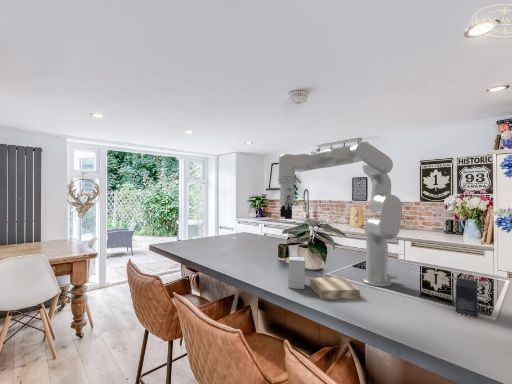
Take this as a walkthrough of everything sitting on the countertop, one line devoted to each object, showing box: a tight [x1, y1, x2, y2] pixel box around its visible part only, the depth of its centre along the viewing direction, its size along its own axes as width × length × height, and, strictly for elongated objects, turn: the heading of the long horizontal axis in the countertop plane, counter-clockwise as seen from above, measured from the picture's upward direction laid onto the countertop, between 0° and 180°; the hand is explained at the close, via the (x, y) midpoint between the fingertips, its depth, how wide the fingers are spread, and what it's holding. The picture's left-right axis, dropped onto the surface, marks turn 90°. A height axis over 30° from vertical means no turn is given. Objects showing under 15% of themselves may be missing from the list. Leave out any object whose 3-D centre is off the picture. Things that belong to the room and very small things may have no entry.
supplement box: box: [287, 256, 306, 290], centre depth 121 cm, size 7×7×13 cm
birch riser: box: [308, 276, 361, 300], centre depth 115 cm, size 16×16×4 cm
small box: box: [454, 277, 479, 318], centre depth 97 cm, size 11×6×10 cm, turn 141°
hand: (285, 217), depth 123 cm, fingers open, 9 cm apart
